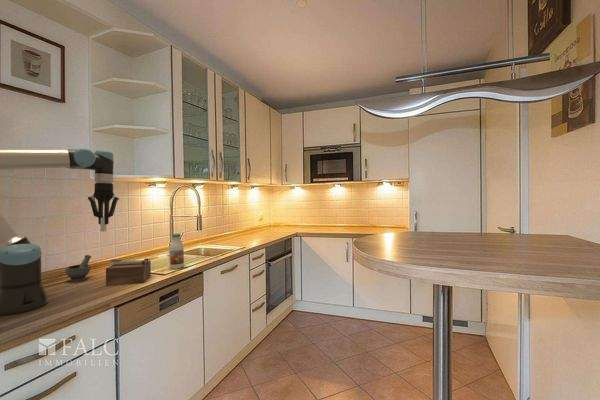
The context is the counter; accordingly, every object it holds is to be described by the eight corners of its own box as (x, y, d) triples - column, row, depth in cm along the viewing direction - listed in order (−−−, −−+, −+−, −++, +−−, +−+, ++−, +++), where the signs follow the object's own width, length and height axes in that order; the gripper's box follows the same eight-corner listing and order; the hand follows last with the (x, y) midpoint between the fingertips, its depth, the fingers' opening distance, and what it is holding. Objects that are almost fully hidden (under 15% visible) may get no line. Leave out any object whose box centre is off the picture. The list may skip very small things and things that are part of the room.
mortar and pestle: (74, 283, 138) (73, 259, 138) (61, 282, 141) (60, 257, 141) (97, 277, 149) (97, 254, 148) (84, 276, 152) (84, 253, 152)
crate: (143, 282, 139) (143, 262, 139) (103, 285, 134) (102, 265, 134) (150, 275, 152) (150, 256, 152) (114, 277, 148) (114, 258, 148)
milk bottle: (166, 268, 166) (166, 234, 165) (176, 265, 173) (176, 232, 172) (176, 270, 163) (176, 235, 162) (186, 266, 170) (186, 233, 170)
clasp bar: (145, 264, 144) (145, 261, 144) (107, 263, 139) (107, 260, 139) (147, 262, 147) (147, 259, 147) (110, 262, 143) (110, 259, 143)
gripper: (121, 183, 144) (121, 230, 144) (92, 183, 141) (91, 230, 141) (116, 182, 137) (115, 231, 137) (84, 182, 134) (84, 232, 134)
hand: (103, 231), depth 139 cm, fingers closed
